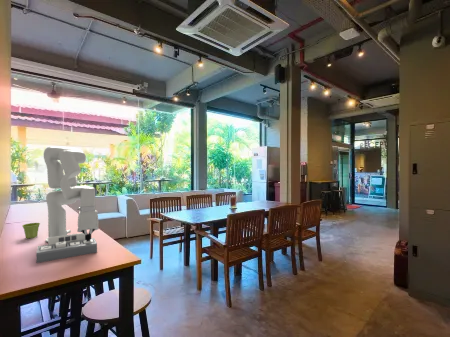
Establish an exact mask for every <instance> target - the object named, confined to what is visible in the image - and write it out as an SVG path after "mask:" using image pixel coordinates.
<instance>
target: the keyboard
mask: <svg viewBox="0 0 450 337" xmlns="http://www.w3.org/2000/svg"><path fill="white" fill-rule="evenodd" d="M47 238H48V242H47V243H48V244H44V245H38V246H37V249H36V253H35V254H36V255H35V257H36V258H35V260H36V264H39V263H44V262H45V263H46V262H48V261H56V260H61V259H67V258H72V257H77V256H83V255H90V254H94V253H98V242H97V241H96V238H95V237H91V239H90V240H93V242H92V243H86V244H83V241H86V240H85V234H84V233H82V232H78V233H72V234H70V233H69V234H67V235H63V236H55V237H47ZM64 241H66V247H60V248H56V243H57V242H64ZM73 242H80V244H79V245H73V246H70V243H73ZM46 246H52V249H47V250H41V251H40V249H41V247H46Z"/></svg>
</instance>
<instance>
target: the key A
mask: <svg viewBox="0 0 450 337" xmlns="http://www.w3.org/2000/svg"><path fill="white" fill-rule="evenodd" d="M47 249H52V246H46V247H41V249H40V251H41V250H47Z"/></svg>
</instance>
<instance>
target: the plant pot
mask: <svg viewBox="0 0 450 337" xmlns="http://www.w3.org/2000/svg"><path fill="white" fill-rule="evenodd" d="M40 225H41V223H40V222H31V223H25V224H22V228H23V230H24V231H23V232H24V237H25V239H27V240H28V239H34V238H37V237H38V232H39V227H40Z"/></svg>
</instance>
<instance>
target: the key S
mask: <svg viewBox="0 0 450 337" xmlns="http://www.w3.org/2000/svg"><path fill="white" fill-rule="evenodd" d="M60 247H66V241H64V242H57V243H56V248H60Z"/></svg>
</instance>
